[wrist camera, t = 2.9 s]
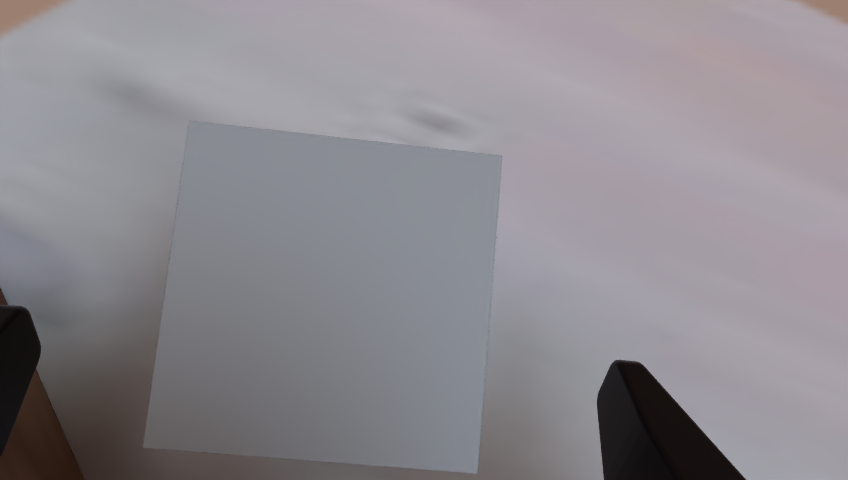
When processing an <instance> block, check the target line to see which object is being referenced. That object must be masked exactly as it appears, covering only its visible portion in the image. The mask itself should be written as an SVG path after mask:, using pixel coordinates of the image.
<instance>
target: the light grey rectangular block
mask: <svg viewBox="0 0 848 480" xmlns="http://www.w3.org/2000/svg"><path fill="white" fill-rule="evenodd" d="M501 167H502V156H501V155H492V154H483V153H474V152H465V151H456V150H447V149H438V148H429V147H420V146H412V145H403V144H394V143H385V142H376V141H367V140H358V139H349V138H340V137H331V136H322V135H313V134H305V133H296V132H287V131H278V130H269V129H260V128H251V127H242V126H233V125H224V124H215V123H207V122H198V121H189V125H188V132H187V139H186V146H185V153H184V160H183V167H182V174H181V181H180V188H179V195H178V202H177V209H176V216H175V223H174V230H173V237H172V244H171V251H170V258H169V265H168V272H167V279H166V286H165V293H164V300H163V307H162V315H161V322H160V329H159V336H158V343H157V350H156V357H155V364H154V371H153V378H152V385H151V392H150V399H149V406H148V413H147V420H146V427H145V434H144V441H143V448H150V449H163V450H176V451H189V452H202V453H215V454H228V455H241V456H254V457H267V458H280V459H293V460H306V461H319V462H332V463H345V464H358V465H371V466H384V467H397V468H410V469H423V470H436V471H449V472H462V473H474V474H477V473H478V460H479V447H480V435H481V422H482V409H483V396H484V384H485V371H486V358H487V346H488V333H489V320H490V307H491V295H492V282H493V269H494V257H495V244H496V231H497V218H498V206H499V193H500V180H501Z"/></svg>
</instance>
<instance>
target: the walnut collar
mask: <svg viewBox="0 0 848 480" xmlns="http://www.w3.org/2000/svg"><path fill="white" fill-rule="evenodd" d="M0 305H7V303H6V301H5V299H4V296H3V294H2V292H1V289H0ZM0 480H84V479H83V477H82V474H81V472H80V470H79V468H78V465H77V463H76V461H75V458H74V456H73V454H72V452H71V449H70V447H69V445H68V442H67V440H66V438H65V436H64V433H63V431H62V429H61V426H60V424H59V422H58V420H57V417H56V415H55V413H54V410H53V408H52V406H51V404H50V401H49V399H48V397H47V394H46V392H45V390H44V388H43V385H42V383H41V381H40V378H39V376H38V374H37V372H36V369H35V372H34V374H33V377H32V380H31V382H30V385H29V388H28V390H27V393H26V395H25V398H24V401H23V403H22V406H21V409H20V411H19V414H18V417H17V419H16V422H15V424H14V427H13V430H12V432H11V435H10V438H9V440H8V442H7V445H6V447H5V450H4V452H3V454H2V456H1V458H0Z"/></svg>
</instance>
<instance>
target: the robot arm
mask: <svg viewBox="0 0 848 480" xmlns="http://www.w3.org/2000/svg"><path fill="white" fill-rule="evenodd" d="M40 354H41V345H40V341H39V338H38V335H37V332H36V329H35V326H34V323H33V321H32V318H31V315H30V313H29V311H28V310H27V309H26V308H25V307H22V306H11V305H0V458H1V456H2V454H3V452H4V450H5V447H6V445H7V442H8V440H9V438H10V435H11V432H12V430H13V427H14V424H15V422H16V419H17V417H18V414H19V411H20V409H21V406H22V403H23V401H24V398H25V395H26V393H27V390H28V388H29V385H30V382H31V380H32V377H33V374H34V372H35V369H36V366H37V364H38V361H39V358H40ZM597 410H598V421H599V431H600V442H601V453H602V463H603V474H604V480H746V479H745V478H744V477H743V476H742V475H741V473H740V472H739V471H738V470H737V469H736V468H735V467H734V466H733V465H732V463H731V462H730V461H729V460H728V459H727V458H726V457H725V456H724V455H723V453H722V452H721V451H720V450H719V449H718V448H717V447H716V446H715V445H714V443H713V442H712V441H711V440H710V439H709V438H708V437H707V436H706V434H705V433H704V432H703V431H702V430H701V429H700V428H699V427H698V426H697V424H696V423H695V422H694V421H693V420H692V419H691V418H690V417H689V416H688V414H687V413H686V412H685V411H684V410H683V409H682V408H681V407H680V406H679V404H678V403H677V402H676V401H675V400H674V399H673V398H672V397H671V395H670V394H669V393H668V392H667V391H666V390H665V389H664V388H663V387H662V385H661V384H660V383H659V382H658V381H657V380H656V379H655V378H654V377H653V375H652V374H651V373H650V372H649V371H648V370H647V369H646V368H645V367H644V366H643V365H642V364H641V363H639V362H636V361H625V360H615V361H614V362H613V363H612V364H611V366H610V368H609V370H608V372H607V375H606V377H605V379H604V381H603V383H602V386H601V388H600V390H599V393H598V398H597Z"/></svg>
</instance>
